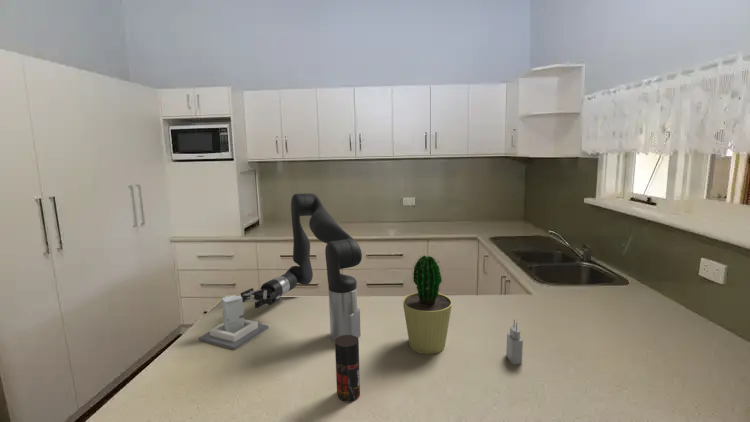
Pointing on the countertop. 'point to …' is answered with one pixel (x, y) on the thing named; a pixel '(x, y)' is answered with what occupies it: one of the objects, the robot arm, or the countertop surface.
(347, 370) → the deodorant
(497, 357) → the countertop surface
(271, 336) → the countertop surface
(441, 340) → the potted cactus
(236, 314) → the skincare box
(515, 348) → the power adapter
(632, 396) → the countertop surface
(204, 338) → the socket plate
